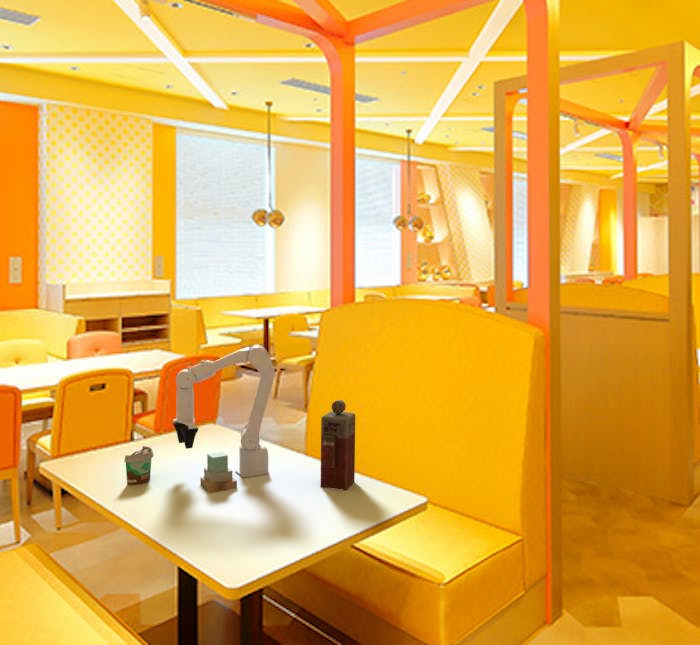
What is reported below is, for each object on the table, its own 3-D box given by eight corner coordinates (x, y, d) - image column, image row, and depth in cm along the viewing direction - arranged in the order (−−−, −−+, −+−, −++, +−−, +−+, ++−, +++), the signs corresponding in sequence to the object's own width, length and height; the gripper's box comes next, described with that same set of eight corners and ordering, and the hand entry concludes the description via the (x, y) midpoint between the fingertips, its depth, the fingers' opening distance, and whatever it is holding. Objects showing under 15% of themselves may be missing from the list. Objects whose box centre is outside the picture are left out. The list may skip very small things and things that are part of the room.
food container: (142, 487, 217) (141, 457, 216) (124, 486, 218) (124, 455, 217) (160, 475, 229) (160, 446, 228) (143, 474, 230) (143, 445, 229)
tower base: (226, 482, 225) (226, 473, 225) (236, 490, 218) (236, 481, 217) (200, 486, 221) (200, 477, 220) (209, 494, 213) (209, 485, 213)
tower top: (224, 473, 224) (224, 465, 224) (232, 479, 218) (232, 470, 218) (204, 477, 221) (204, 468, 220) (211, 483, 215) (211, 474, 214)
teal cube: (222, 466, 222) (221, 451, 222) (227, 470, 218) (227, 455, 217) (207, 469, 220) (207, 453, 219) (212, 473, 215) (212, 457, 215)
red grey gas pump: (317, 489, 218) (318, 403, 215) (329, 478, 228) (330, 396, 226) (344, 492, 215) (345, 405, 212) (354, 481, 226) (355, 398, 223)
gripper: (167, 402, 232) (167, 441, 233) (179, 411, 219) (180, 452, 221) (187, 400, 235) (188, 439, 237) (201, 408, 223) (201, 449, 224)
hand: (185, 445), depth 229 cm, fingers open, 7 cm apart
